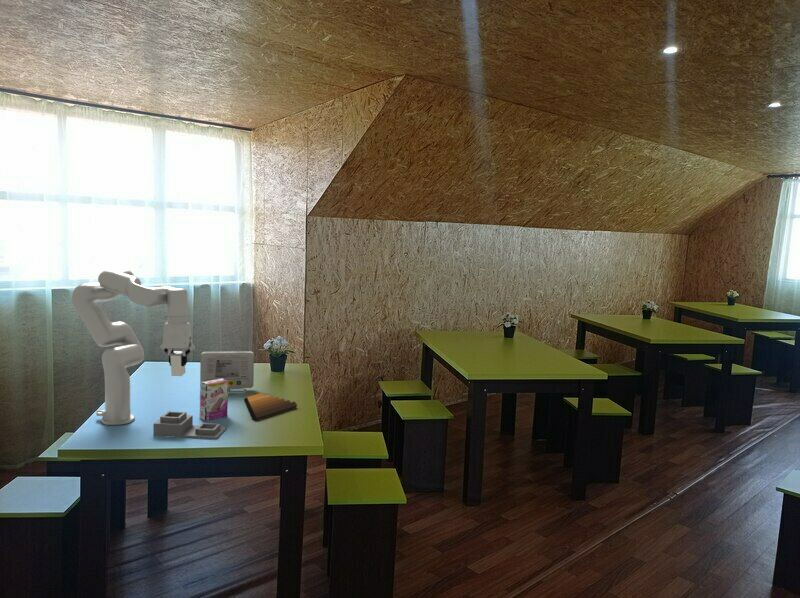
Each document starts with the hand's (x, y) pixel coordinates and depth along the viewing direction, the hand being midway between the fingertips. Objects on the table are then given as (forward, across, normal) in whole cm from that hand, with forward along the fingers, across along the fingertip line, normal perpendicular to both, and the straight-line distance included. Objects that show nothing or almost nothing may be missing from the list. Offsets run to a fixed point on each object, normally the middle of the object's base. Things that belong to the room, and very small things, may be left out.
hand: (177, 364), depth 233 cm
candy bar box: (+28, +8, +19) cm, 35 cm away
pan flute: (+28, +23, +35) cm, 51 cm away
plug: (+4, 0, +1) cm, 4 cm away
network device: (+28, +1, +60) cm, 66 cm away
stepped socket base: (+28, +5, 0) cm, 28 cm away
